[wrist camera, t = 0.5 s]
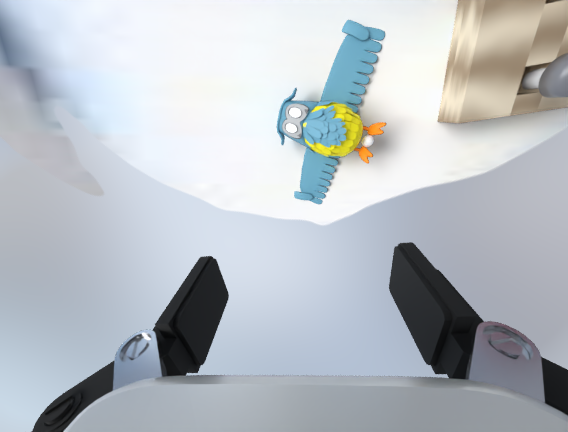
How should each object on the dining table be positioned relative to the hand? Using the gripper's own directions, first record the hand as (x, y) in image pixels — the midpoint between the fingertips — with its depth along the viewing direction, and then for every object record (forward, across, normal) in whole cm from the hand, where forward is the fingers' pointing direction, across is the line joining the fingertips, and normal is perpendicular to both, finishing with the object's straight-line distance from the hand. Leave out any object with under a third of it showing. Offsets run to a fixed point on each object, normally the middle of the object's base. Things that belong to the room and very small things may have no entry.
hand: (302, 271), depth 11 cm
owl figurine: (+31, -4, -4) cm, 31 cm away
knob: (+25, -31, -7) cm, 40 cm away
